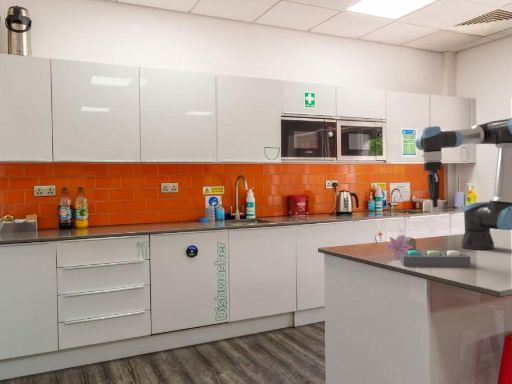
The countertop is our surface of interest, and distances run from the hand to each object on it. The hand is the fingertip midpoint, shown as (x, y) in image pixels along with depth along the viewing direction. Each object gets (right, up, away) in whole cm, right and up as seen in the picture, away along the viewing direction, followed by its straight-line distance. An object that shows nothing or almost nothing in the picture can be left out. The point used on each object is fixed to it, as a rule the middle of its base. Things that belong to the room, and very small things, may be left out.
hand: (434, 214), depth 195 cm
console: (-4, -21, -9) cm, 23 cm away
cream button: (+3, -19, -11) cm, 22 cm away
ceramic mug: (-4, -20, +25) cm, 32 cm away
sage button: (-5, -19, -9) cm, 22 cm away
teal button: (-12, -20, -8) cm, 24 cm away
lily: (-14, -21, +8) cm, 26 cm away
